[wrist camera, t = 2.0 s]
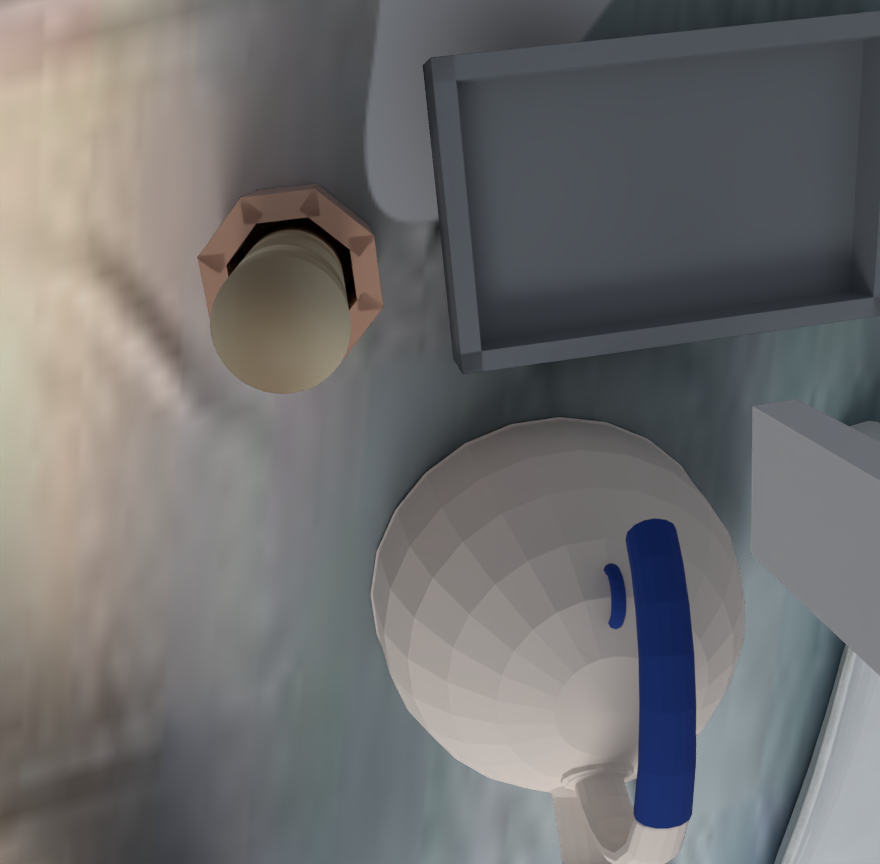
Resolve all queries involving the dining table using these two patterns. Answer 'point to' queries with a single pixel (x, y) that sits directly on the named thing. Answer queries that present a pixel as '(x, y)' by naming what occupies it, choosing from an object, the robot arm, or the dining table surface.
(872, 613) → the robot arm
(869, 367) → the dining table surface
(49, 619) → the dining table surface
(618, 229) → the tray
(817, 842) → the square plate
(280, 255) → the peg
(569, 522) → the kettle
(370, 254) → the pink octagonal cup
